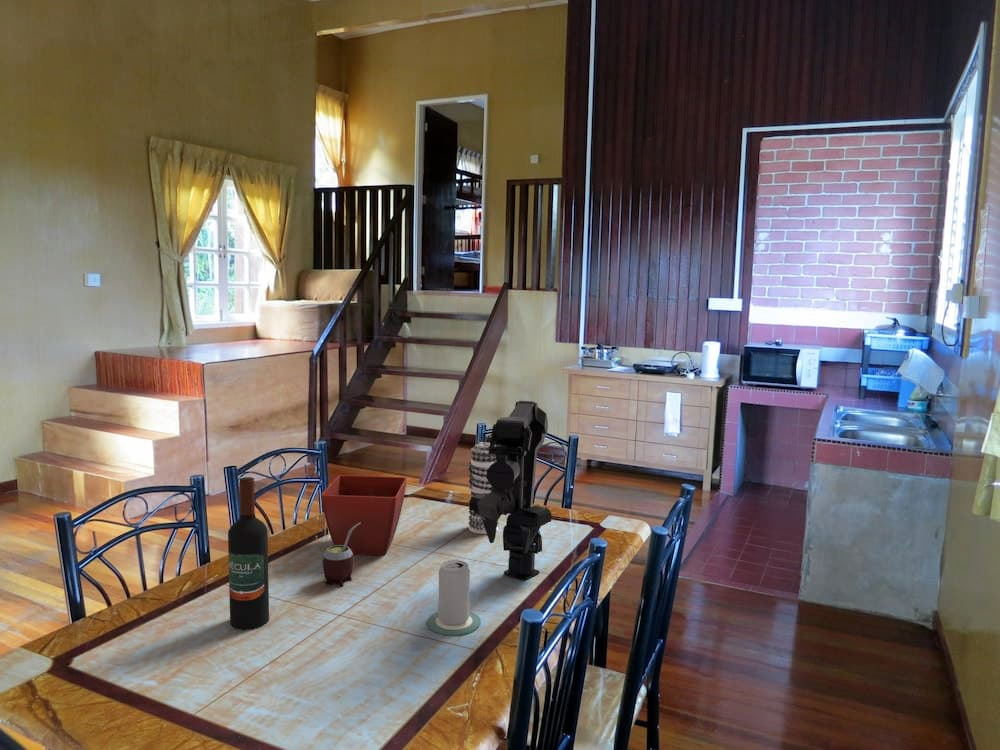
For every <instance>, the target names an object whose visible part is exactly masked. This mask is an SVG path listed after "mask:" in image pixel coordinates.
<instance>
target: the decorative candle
mask: <svg viewBox="0 0 1000 750" xmlns="http://www.w3.org/2000/svg"><path fill="white" fill-rule="evenodd" d="M495 446H497V445H496V444H495ZM489 447H490V442H489V441H488V442H486V441H481V442H476V443H475V444H474V446H473V447H472V448H470V450H471V459H470V461H469V463H468V466H469V467H468V470H469V475H468V478H469V480H468V483H469V487H468V489H469V492H470V499H471V498H472V497H473V496H476V495H479V494H482V493H490V492H491V490H492V486H491V485H490V484H489V482H488V480H487V471H488V468H489V467H490V466H491V465H492V464H493V463H494V462H495V459H496V454H489ZM473 512H474V511H472V510H469V511H468V513H469V516H468V520H469V521H468V525H469V527H468V530H469V531H470V532H472V533H475V534H479V535H481V534H482V535H487V533H486V530H485V527H484V524H483V522H482V520H481V518H479V517H478V516H477V515H475V514H474V513H473ZM498 526H499V520H498V521H497V529H496V532H497V531H498V530H499V527H498Z"/></svg>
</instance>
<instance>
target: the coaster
mask: <svg viewBox="0 0 1000 750" xmlns="http://www.w3.org/2000/svg"><path fill="white" fill-rule="evenodd" d="M426 621H427V622H426V624H427V627H428V629H430V631H432V632H434V633H437V634H439V635H442V636H443V635H444V636H449V637H450V636H453V637H457V636H458V637H459V636H464V635H468V634H471V633H473V631H474V632H476V631H477V630H478V629H479V628H480V627H481V621H482V620H481V618H480V616H479V615H478V614H476V613H474V612H472V611H470V610H469V619H468V620H467V621H466V622H465V623H463V624H461V625H456V626H450V625H446V624H444V623H442V621H440V620H439V618H438V611H437V612H434V613H433V614H431V615H430V616H429V617H428V619H427V620H426ZM479 626H480V627H479Z"/></svg>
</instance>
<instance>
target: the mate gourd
mask: <svg viewBox="0 0 1000 750" xmlns="http://www.w3.org/2000/svg"><path fill="white" fill-rule="evenodd" d="M359 524H361V522H360V523H358V524H356V525H355V526H353V527H352V528H351V529H350V530H349V532H348V535H347V538H346V541H345V544H344V545H336V546H334V545H332V546H329V547H327V549H326V550H325V552H324V554H323V558H322V569H323V575H324V578H325V581H324V584H325V585H332V584H338V586H339V587H340V588H344V582H350V581H352V580H353V578H352V573H353V569H354V568H353V567H354V561H355V557H354V555H353V552H352V551H351V549H350V548H349V547H348V546H346V545H347V543H348V540H349V537H350V535H351V533H352V530H353V529H354V528H356V527H357V526H358V525H359Z"/></svg>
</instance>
